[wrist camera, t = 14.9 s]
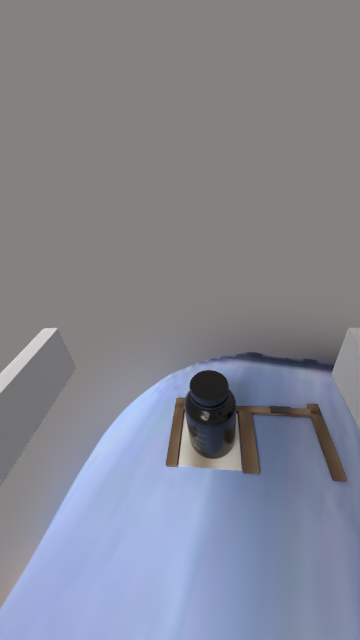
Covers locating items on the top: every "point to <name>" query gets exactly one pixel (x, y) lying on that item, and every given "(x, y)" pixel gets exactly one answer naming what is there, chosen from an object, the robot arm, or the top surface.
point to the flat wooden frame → (246, 441)
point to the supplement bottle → (211, 415)
